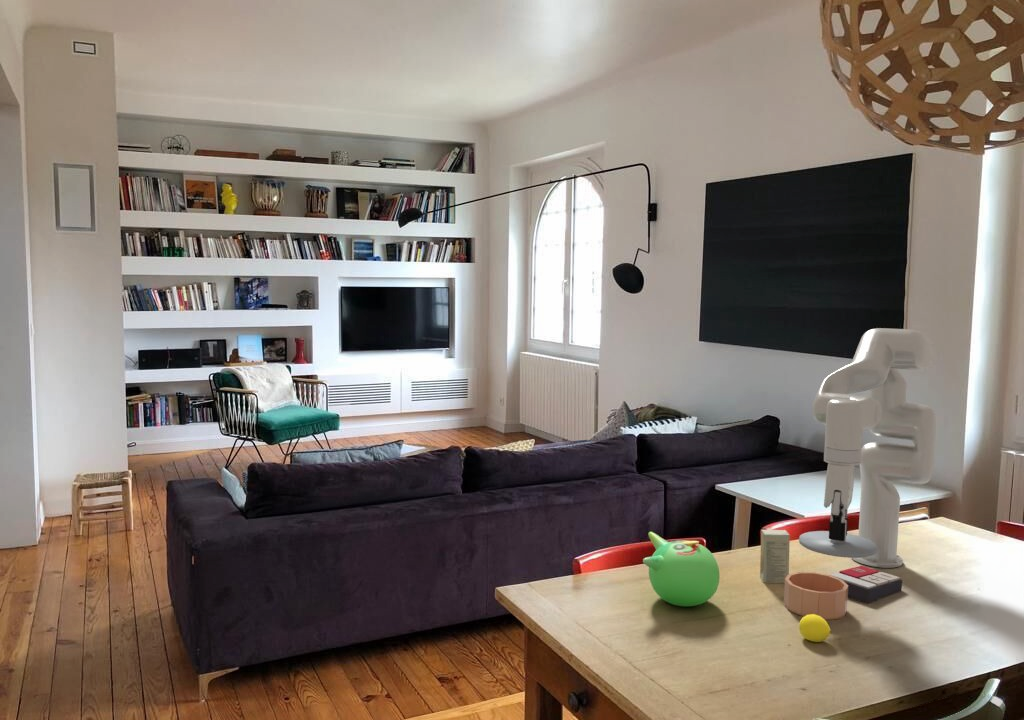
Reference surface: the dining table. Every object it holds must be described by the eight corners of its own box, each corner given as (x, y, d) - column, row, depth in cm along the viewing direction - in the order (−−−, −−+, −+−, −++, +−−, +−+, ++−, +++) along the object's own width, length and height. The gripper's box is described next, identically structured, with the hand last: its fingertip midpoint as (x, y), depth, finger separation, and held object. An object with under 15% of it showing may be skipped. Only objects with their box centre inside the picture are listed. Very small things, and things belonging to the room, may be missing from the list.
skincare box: (784, 577, 205) (787, 529, 204) (788, 584, 201) (791, 535, 200) (758, 576, 206) (760, 528, 205) (761, 582, 201) (764, 533, 200)
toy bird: (720, 621, 178) (722, 554, 176) (640, 613, 181) (642, 548, 180) (716, 591, 195) (719, 530, 194) (644, 584, 199) (646, 525, 197)
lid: (805, 530, 193) (806, 506, 193) (879, 541, 186) (881, 516, 185) (793, 549, 179) (794, 523, 179) (873, 562, 172) (875, 535, 171)
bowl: (791, 593, 195) (792, 568, 194) (850, 604, 188) (851, 579, 188) (778, 611, 184) (780, 585, 183) (841, 624, 177) (842, 597, 177)
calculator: (903, 576, 198) (869, 586, 189) (901, 594, 198) (867, 604, 189) (860, 563, 206) (826, 572, 198) (859, 580, 207) (824, 590, 198)
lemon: (792, 640, 170) (791, 614, 170) (808, 634, 173) (806, 608, 173) (823, 648, 164) (821, 621, 164) (838, 642, 168) (836, 615, 168)
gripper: (829, 447, 190) (825, 525, 191) (818, 460, 175) (814, 544, 177) (864, 451, 186) (860, 530, 188) (856, 464, 172) (851, 550, 174)
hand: (837, 536), depth 182 cm, fingers closed on lid, 3 cm apart
